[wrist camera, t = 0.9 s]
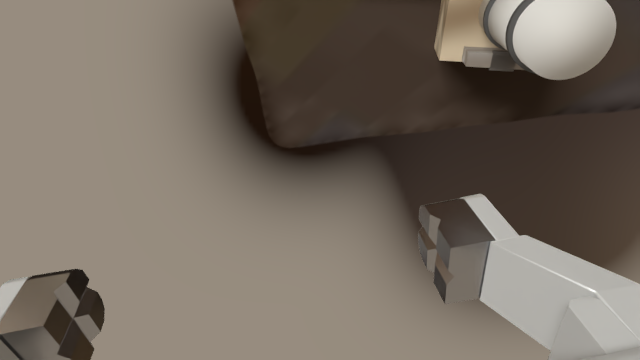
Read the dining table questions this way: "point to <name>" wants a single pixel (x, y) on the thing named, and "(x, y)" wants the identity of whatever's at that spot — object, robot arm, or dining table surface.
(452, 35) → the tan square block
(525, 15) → the white thermos bottle
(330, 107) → the dining table surface
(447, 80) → the dining table surface
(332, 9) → the dining table surface
